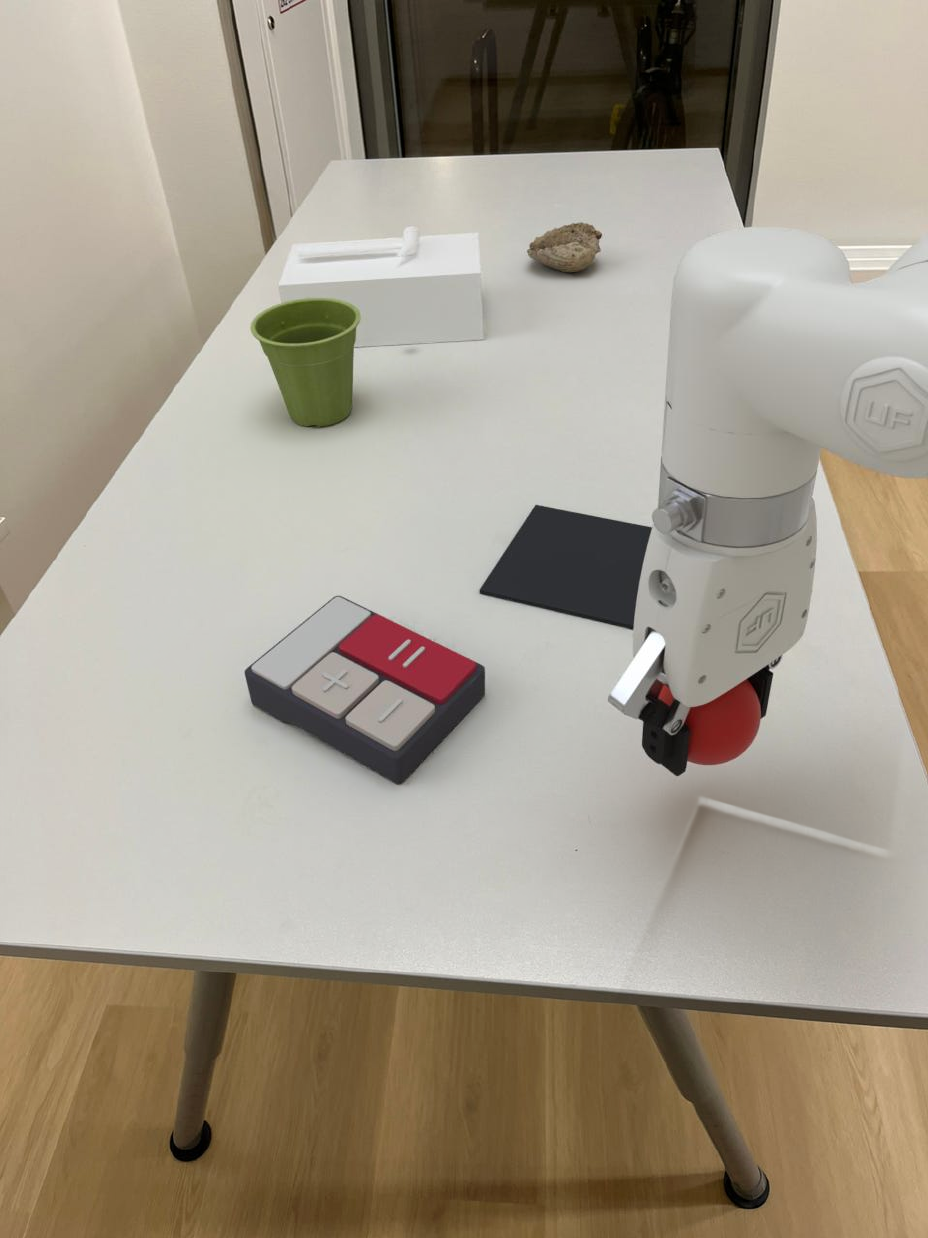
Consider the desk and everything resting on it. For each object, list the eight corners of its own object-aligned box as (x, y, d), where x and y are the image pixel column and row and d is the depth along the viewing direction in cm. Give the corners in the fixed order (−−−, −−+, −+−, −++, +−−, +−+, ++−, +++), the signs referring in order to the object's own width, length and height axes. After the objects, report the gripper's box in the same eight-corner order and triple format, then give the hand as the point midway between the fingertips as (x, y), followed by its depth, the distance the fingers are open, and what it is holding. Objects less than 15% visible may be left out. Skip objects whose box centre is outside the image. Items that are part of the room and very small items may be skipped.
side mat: (743, 548, 86) (744, 544, 86) (708, 646, 76) (708, 643, 76) (535, 507, 93) (535, 504, 92) (479, 593, 83) (479, 589, 83)
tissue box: (483, 339, 122) (480, 253, 115) (290, 351, 123) (274, 266, 116) (480, 295, 133) (477, 214, 126) (303, 306, 134) (289, 226, 127)
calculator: (396, 753, 65) (239, 664, 71) (400, 792, 68) (248, 703, 74) (487, 659, 71) (336, 585, 78) (487, 698, 74) (341, 624, 81)
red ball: (763, 726, 62) (776, 652, 58) (742, 799, 57) (755, 725, 53) (665, 702, 64) (671, 630, 60) (639, 771, 60) (643, 698, 56)
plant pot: (249, 427, 108) (227, 333, 101) (308, 382, 116) (292, 291, 108) (335, 448, 103) (319, 350, 96) (391, 399, 111) (381, 306, 104)
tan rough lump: (540, 274, 145) (510, 267, 137) (545, 224, 143) (515, 214, 135) (609, 277, 140) (582, 270, 132) (614, 225, 138) (588, 215, 130)
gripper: (665, 595, 42) (646, 843, 54) (904, 457, 49) (842, 702, 61) (555, 525, 47) (559, 766, 59) (787, 408, 54) (750, 643, 66)
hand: (704, 731), depth 60 cm, fingers closed on red ball, 6 cm apart
